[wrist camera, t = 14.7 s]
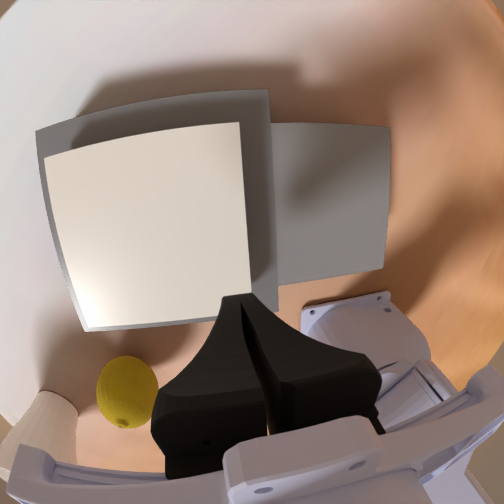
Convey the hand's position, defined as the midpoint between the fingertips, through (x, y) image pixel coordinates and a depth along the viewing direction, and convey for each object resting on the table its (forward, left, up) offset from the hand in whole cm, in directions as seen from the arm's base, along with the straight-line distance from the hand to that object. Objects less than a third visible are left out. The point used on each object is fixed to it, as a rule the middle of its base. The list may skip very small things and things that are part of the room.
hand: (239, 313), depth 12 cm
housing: (0, -3, -10) cm, 10 cm away
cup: (+24, +19, -10) cm, 32 cm away
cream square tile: (+4, -3, -5) cm, 7 cm away
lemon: (+10, +11, -10) cm, 18 cm away
